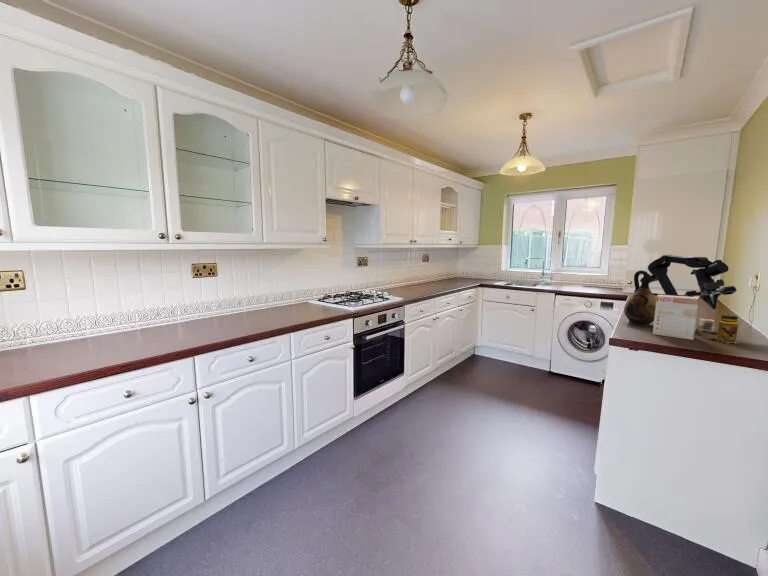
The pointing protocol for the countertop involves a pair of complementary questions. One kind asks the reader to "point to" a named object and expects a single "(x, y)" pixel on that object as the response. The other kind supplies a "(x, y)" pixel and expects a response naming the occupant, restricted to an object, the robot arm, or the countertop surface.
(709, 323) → the beech block
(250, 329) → the countertop surface
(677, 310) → the coffeecake box
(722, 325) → the condiment
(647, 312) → the ceramic jug
